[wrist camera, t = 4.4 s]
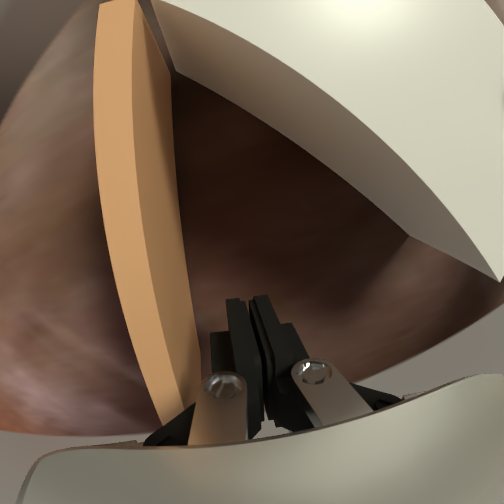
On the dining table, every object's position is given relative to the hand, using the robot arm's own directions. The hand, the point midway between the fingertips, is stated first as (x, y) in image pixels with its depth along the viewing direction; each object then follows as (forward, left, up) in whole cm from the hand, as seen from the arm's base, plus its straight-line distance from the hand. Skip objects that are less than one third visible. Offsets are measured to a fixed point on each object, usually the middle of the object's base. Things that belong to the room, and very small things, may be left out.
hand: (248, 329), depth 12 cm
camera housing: (0, -13, -4) cm, 13 cm away
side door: (+5, -1, -4) cm, 6 cm away
